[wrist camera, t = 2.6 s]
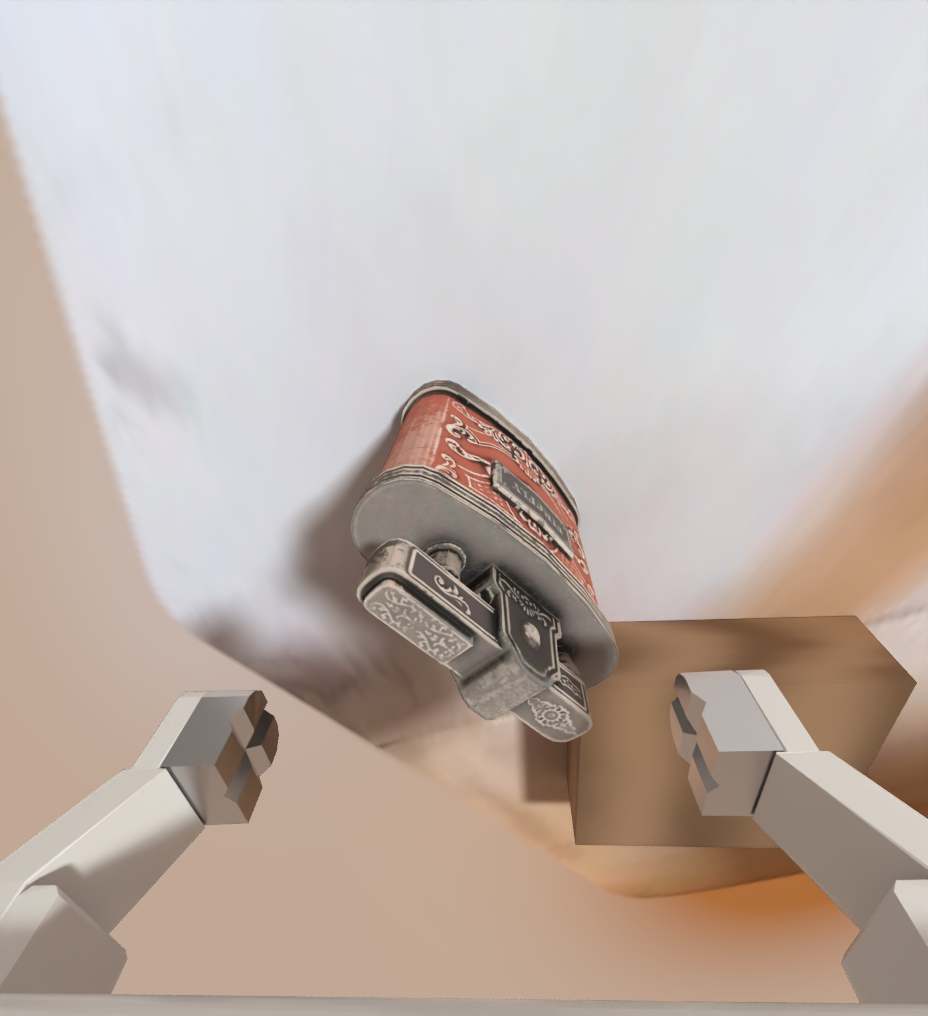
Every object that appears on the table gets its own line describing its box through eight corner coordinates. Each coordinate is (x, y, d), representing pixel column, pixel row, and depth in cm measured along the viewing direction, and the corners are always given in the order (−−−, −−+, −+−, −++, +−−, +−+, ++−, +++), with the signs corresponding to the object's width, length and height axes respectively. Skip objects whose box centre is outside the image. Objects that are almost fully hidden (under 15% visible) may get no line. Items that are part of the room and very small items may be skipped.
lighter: (597, 507, 19) (683, 748, 10) (531, 555, 20) (558, 804, 12) (447, 356, 16) (393, 509, 8) (383, 423, 18) (275, 617, 9)
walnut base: (856, 615, 21) (917, 682, 18) (787, 778, 27) (824, 848, 24) (571, 623, 22) (583, 687, 19) (566, 777, 28) (575, 844, 25)
